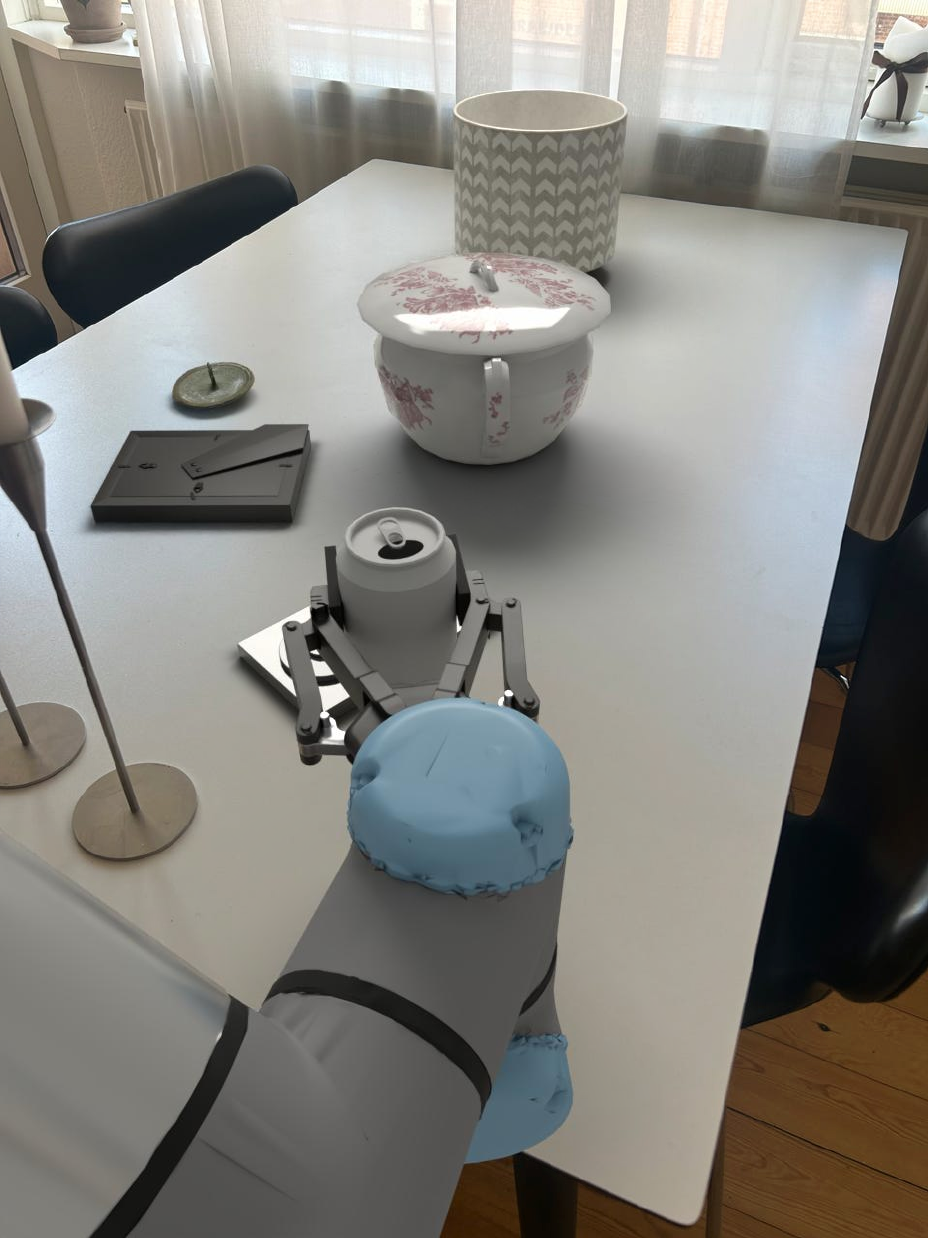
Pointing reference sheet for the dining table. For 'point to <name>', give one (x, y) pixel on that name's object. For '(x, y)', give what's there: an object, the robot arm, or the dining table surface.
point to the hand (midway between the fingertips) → (391, 556)
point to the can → (399, 593)
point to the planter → (539, 174)
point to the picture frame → (206, 476)
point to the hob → (272, 665)
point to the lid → (212, 385)
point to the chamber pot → (484, 350)
